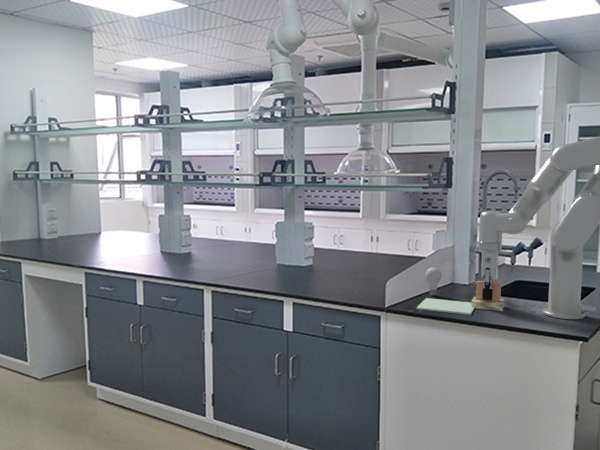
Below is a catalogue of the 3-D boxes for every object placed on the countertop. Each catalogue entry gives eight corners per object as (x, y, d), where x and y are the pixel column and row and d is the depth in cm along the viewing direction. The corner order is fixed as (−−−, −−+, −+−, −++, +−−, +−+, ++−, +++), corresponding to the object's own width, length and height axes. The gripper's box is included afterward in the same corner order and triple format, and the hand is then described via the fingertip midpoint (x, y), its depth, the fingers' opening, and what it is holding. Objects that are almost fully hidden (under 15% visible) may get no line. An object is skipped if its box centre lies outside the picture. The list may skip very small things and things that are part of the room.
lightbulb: (422, 296, 206) (423, 267, 205) (428, 293, 211) (428, 265, 210) (437, 298, 202) (438, 269, 201) (443, 295, 207) (444, 267, 206)
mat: (476, 304, 192) (476, 303, 192) (470, 315, 178) (470, 313, 178) (426, 299, 200) (426, 298, 200) (416, 309, 185) (416, 307, 185)
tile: (499, 308, 188) (501, 282, 187) (499, 309, 186) (500, 283, 185) (476, 305, 191) (477, 280, 190) (475, 306, 190) (476, 281, 189)
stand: (503, 306, 190) (504, 299, 190) (502, 311, 183) (502, 304, 183) (473, 303, 194) (474, 296, 194) (471, 307, 187) (471, 300, 187)
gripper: (499, 250, 177) (497, 304, 179) (503, 244, 193) (501, 294, 195) (475, 249, 181) (473, 302, 182) (481, 243, 196) (479, 292, 198)
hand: (488, 297), depth 188 cm, fingers open, 5 cm apart
